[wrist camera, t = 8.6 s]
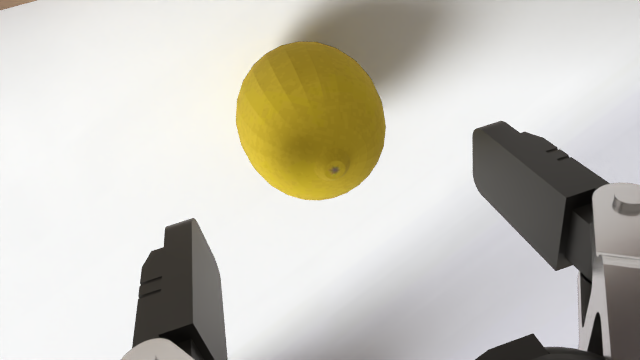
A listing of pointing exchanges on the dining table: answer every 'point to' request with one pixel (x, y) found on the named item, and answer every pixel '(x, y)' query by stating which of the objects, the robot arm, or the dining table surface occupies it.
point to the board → (12, 3)
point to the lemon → (310, 120)
